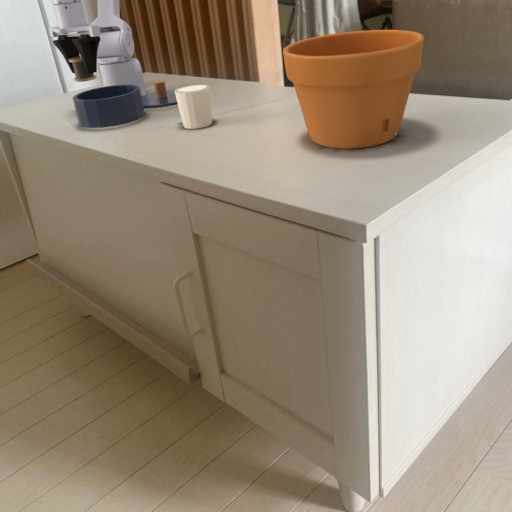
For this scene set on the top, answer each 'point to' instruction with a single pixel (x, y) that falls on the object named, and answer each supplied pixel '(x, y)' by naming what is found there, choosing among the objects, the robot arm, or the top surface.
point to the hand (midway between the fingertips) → (84, 72)
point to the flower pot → (354, 84)
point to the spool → (80, 70)
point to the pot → (109, 106)
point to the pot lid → (159, 97)
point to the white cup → (195, 105)
